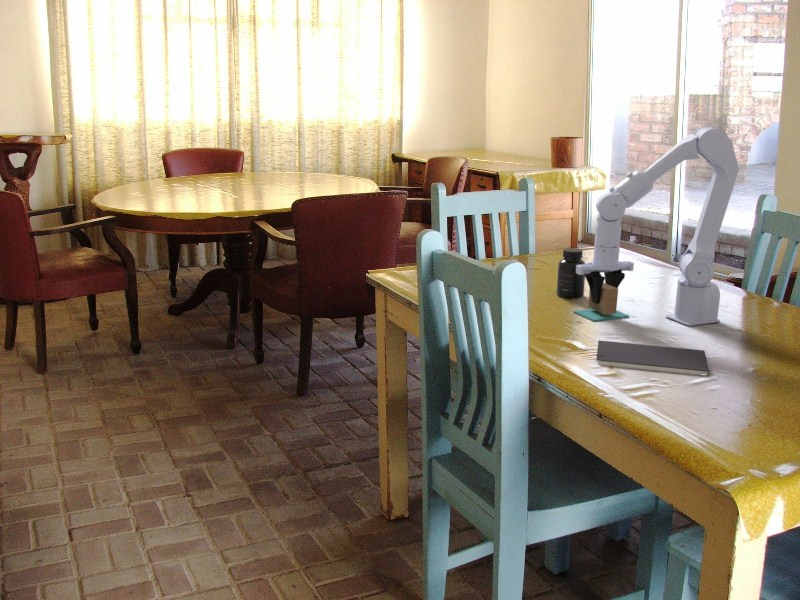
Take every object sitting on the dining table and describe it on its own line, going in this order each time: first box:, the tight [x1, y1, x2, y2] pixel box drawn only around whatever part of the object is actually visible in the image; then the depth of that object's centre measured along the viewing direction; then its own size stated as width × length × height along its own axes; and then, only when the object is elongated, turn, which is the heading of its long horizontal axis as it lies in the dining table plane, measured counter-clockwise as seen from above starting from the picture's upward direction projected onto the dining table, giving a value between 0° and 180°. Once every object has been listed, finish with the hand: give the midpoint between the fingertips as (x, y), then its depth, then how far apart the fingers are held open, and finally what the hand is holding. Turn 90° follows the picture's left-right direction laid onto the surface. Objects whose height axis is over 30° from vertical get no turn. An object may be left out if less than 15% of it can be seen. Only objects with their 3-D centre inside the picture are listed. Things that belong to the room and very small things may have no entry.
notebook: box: [595, 340, 710, 375], centre depth 173 cm, size 13×2×21 cm
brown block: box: [587, 281, 619, 315], centre depth 202 cm, size 7×3×6 cm, turn 21°
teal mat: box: [573, 308, 630, 322], centre depth 203 cm, size 10×8×1 cm
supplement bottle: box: [556, 247, 586, 300], centre depth 218 cm, size 7×7×12 cm
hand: (602, 302), depth 202 cm, fingers closed on brown block, 3 cm apart
